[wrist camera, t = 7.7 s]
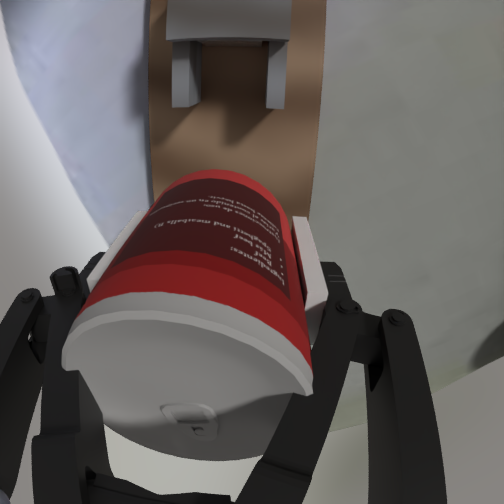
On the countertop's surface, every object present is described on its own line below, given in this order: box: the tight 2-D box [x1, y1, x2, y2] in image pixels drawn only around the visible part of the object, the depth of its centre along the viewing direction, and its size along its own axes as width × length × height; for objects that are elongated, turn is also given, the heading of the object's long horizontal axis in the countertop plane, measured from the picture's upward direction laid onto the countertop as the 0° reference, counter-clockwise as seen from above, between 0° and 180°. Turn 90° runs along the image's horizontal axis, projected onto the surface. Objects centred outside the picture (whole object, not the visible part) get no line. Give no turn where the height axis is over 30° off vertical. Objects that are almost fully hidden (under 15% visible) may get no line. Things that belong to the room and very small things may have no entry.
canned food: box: [62, 169, 313, 461], centre depth 13 cm, size 8×8×11 cm
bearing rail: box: [148, 0, 326, 231], centre depth 18 cm, size 26×12×7 cm, turn 178°
